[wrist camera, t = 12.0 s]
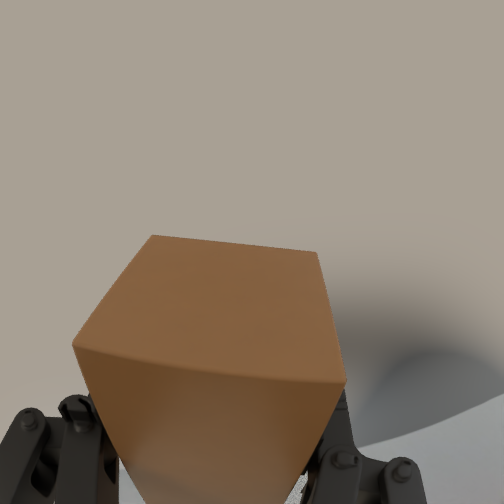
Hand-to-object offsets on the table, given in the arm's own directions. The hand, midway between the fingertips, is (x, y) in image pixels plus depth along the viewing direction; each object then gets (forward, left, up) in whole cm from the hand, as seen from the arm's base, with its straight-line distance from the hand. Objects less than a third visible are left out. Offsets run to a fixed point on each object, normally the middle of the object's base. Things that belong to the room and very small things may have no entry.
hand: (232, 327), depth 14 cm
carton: (+1, -5, -6) cm, 8 cm away
